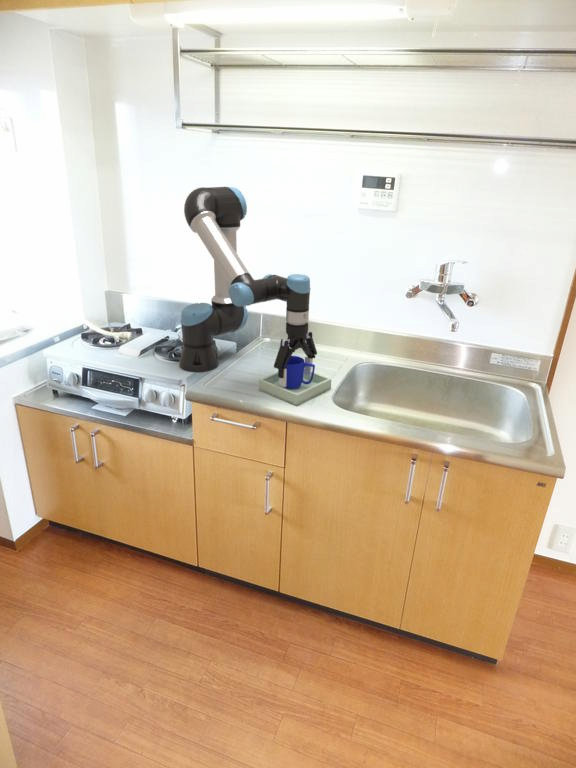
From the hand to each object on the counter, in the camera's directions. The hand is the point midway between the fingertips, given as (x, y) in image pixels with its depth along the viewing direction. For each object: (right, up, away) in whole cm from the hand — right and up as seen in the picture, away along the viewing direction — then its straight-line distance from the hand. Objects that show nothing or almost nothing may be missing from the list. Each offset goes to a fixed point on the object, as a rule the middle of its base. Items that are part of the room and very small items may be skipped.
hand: (295, 380), depth 177 cm
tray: (0, -3, +2) cm, 4 cm away
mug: (+1, -2, +2) cm, 3 cm away
